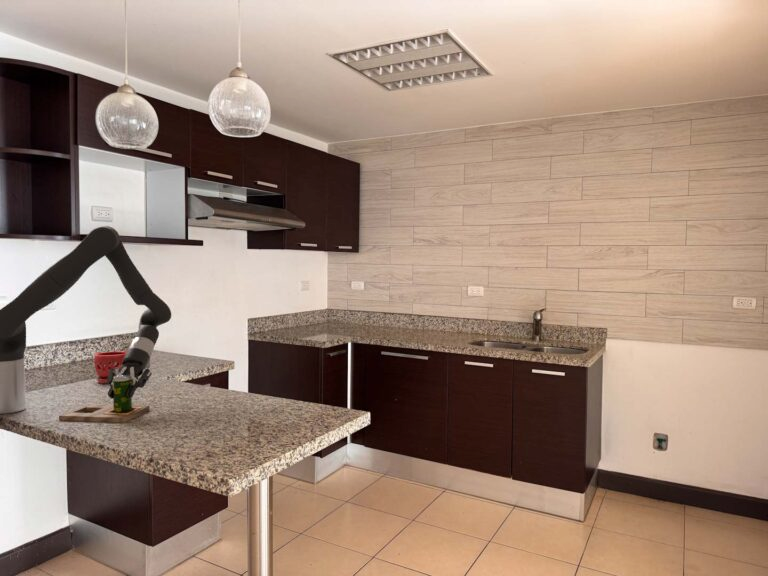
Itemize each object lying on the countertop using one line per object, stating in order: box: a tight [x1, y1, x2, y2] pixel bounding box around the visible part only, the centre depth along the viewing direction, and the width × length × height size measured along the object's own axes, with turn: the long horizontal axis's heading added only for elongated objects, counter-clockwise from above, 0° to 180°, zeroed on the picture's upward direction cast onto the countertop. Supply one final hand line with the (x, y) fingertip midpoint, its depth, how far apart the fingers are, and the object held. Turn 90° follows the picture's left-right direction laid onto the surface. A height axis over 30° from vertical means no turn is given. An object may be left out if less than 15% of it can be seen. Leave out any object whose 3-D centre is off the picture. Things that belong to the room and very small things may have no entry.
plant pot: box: [93, 351, 127, 384], centre depth 229 cm, size 13×13×12 cm
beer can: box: [112, 375, 133, 413], centre depth 177 cm, size 5×5×12 cm
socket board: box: [58, 403, 150, 423], centre depth 178 cm, size 22×14×2 cm, turn 83°
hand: (119, 397), depth 176 cm, fingers closed on beer can, 5 cm apart
